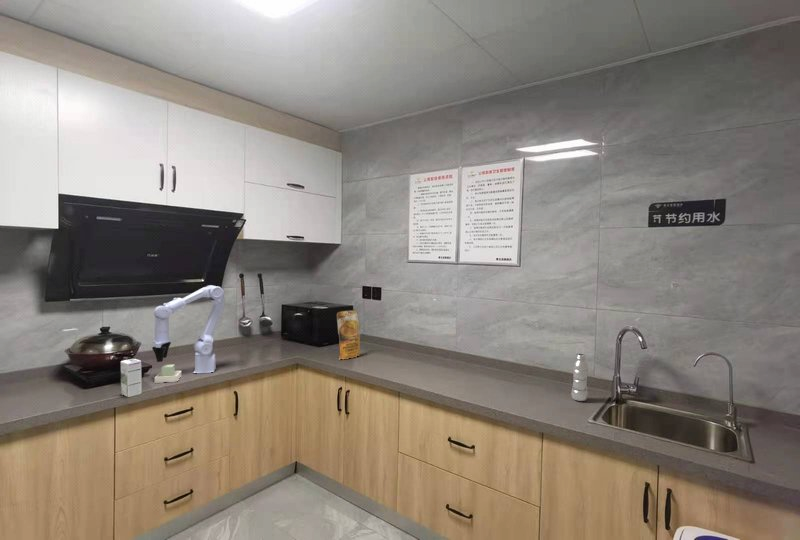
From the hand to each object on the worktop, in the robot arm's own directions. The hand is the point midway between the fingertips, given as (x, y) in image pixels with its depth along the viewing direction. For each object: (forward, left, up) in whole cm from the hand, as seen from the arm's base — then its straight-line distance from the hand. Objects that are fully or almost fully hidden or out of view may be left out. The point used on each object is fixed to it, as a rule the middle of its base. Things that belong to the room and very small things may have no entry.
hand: (161, 359), depth 193 cm
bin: (-4, +3, -9) cm, 10 cm away
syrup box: (+6, +21, -9) cm, 24 cm away
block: (-4, +3, -8) cm, 10 cm away
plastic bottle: (-178, +74, -9) cm, 193 cm away
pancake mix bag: (-94, -21, -9) cm, 96 cm away
